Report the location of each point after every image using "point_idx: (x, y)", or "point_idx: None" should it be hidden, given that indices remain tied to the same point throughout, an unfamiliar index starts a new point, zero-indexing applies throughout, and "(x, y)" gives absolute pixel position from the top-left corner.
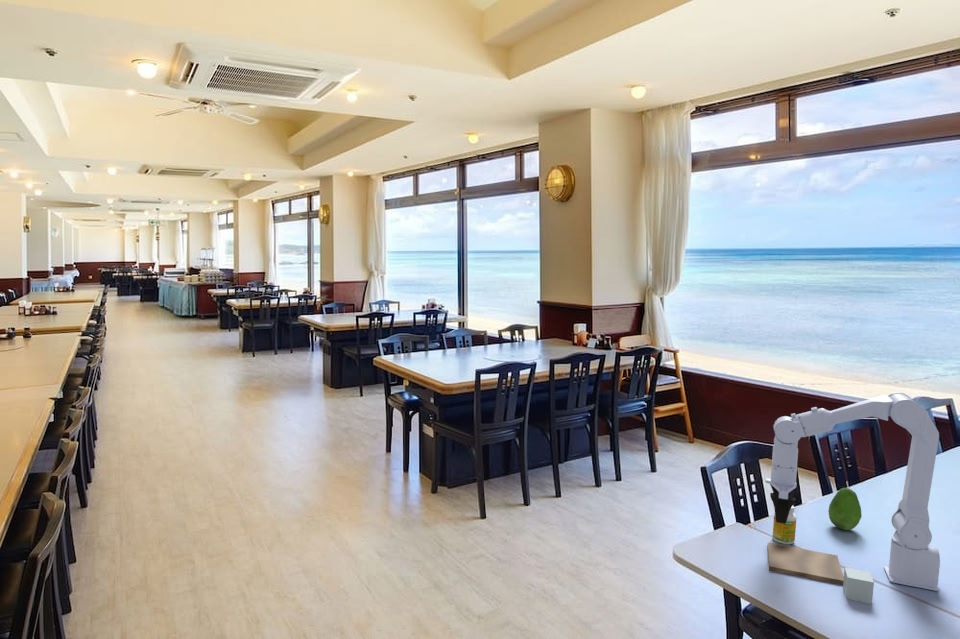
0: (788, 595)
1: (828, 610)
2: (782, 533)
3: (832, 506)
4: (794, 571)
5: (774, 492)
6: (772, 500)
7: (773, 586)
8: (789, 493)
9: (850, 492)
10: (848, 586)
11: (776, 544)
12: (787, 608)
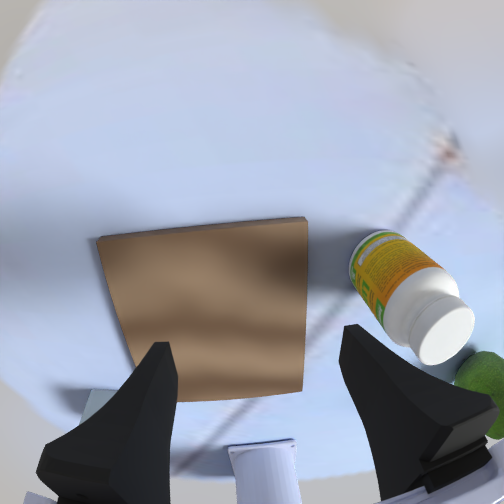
0: (10, 290)
1: (20, 355)
2: (363, 277)
3: (495, 382)
4: (116, 310)
5: (403, 401)
6: (54, 441)
7: (21, 256)
8: (377, 465)
9: (499, 436)
10: (85, 411)
11: (305, 250)
12: None
